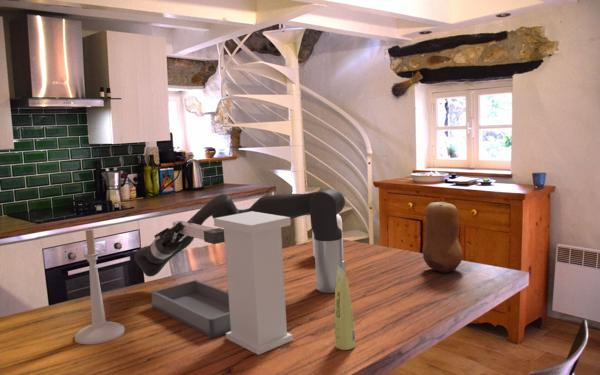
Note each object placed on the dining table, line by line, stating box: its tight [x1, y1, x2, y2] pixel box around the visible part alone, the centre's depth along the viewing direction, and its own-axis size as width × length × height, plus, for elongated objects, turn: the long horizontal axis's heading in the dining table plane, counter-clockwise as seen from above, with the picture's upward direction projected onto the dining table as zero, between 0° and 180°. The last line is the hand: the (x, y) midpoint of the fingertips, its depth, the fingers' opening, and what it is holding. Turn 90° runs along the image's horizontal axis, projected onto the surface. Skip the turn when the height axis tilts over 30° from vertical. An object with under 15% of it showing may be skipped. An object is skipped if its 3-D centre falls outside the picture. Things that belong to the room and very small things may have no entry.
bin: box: [150, 279, 231, 339], centre depth 150 cm, size 35×16×5 cm, turn 42°
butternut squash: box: [422, 201, 463, 274], centre depth 179 cm, size 14×13×25 cm
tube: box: [334, 266, 356, 351], centre depth 122 cm, size 6×5×20 cm
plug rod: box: [172, 220, 225, 245], centre depth 147 cm, size 25×5×3 cm, turn 42°
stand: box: [213, 211, 294, 356], centre depth 128 cm, size 16×12×32 cm
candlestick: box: [74, 227, 126, 345], centre depth 137 cm, size 13×13×30 cm
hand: (186, 223), depth 152 cm, fingers closed on plug rod, 3 cm apart
